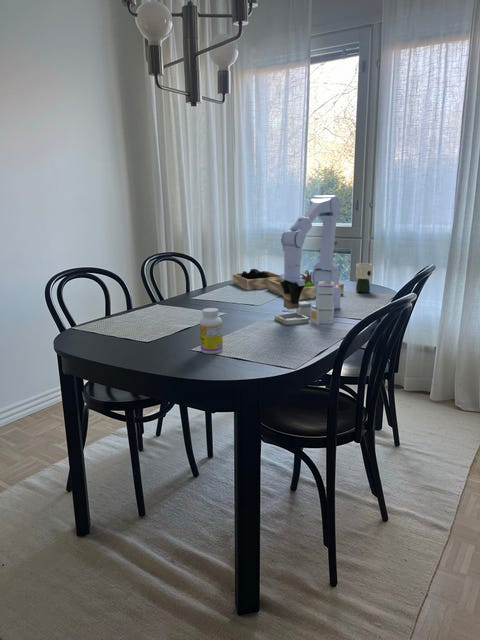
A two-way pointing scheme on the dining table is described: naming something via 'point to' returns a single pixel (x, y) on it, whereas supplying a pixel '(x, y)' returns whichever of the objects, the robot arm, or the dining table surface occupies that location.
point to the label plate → (314, 316)
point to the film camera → (254, 274)
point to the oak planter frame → (306, 292)
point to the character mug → (363, 276)
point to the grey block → (304, 308)
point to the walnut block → (289, 302)
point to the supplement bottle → (211, 331)
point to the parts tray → (291, 318)
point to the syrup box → (326, 302)
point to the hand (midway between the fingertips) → (291, 302)
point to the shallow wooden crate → (253, 281)
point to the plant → (308, 279)
